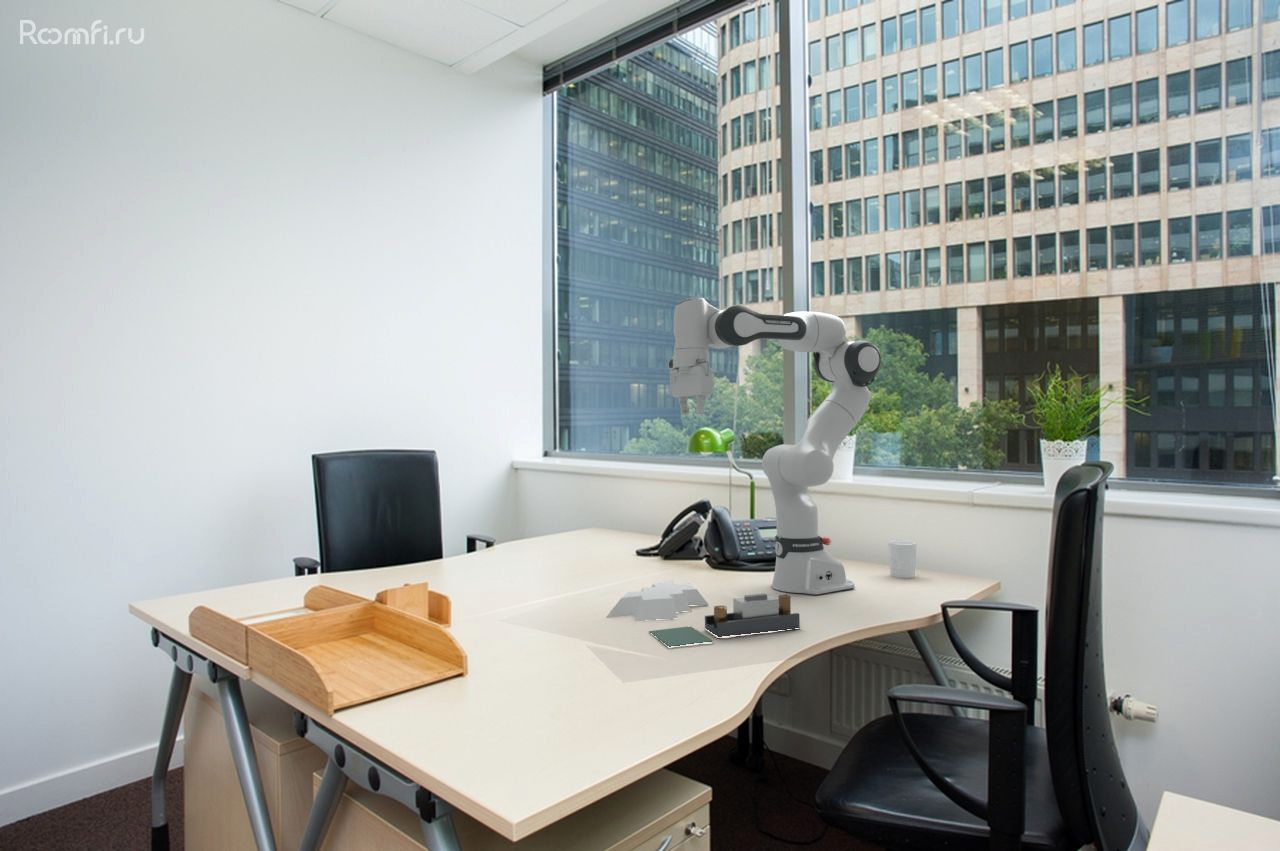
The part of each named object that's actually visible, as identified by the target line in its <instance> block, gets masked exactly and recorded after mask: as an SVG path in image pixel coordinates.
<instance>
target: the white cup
mask: <svg viewBox="0 0 1280 851" xmlns="http://www.w3.org/2000/svg"><path fill="white" fill-rule="evenodd" d="M887 547H888V548H887V550H888V551H887V552H888V564H889V565H888V566H889V575H890V576H891V577H893V578H898V579H912V578H915V577H916V562H917V561H916V560H917V542H915V541H913V540H903V539H902V540H901V539H900V540H897V539H896V540H889V541H888V542H887Z"/></svg>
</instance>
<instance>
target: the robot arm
mask: <svg viewBox="0 0 1280 851" xmlns="http://www.w3.org/2000/svg"><path fill="white" fill-rule="evenodd" d="M673 314H674V315H673V336H674V341H675V342H674V346H673V355H672V357H671V358H670V359H669V360H668V363H667V368H668V370H670V371H669V390H670V394H671V396H672V397H673V398H677V400H678V404H679V407H680V414H681V415H689V414H690V408H689V406H688V398H689V397H691V398H692V397H696V407H694V409H695V410H694V411H695V414H696V415H703V414H704V413H705V405H706V402H707V396H712V395H713V394H714V391H715V384H714V372H713V368H712V366H710V362H709V348H713V349H715V350H716V349H718V350H719V349H720V350H721V349H722V350H723V349H726V348H727V349H728V348H731V347H732V348H733V347H739V346H745V345H748V344H750V343H752V342H754V341H755V340H773V341H774V340H775V341H776V340H777V341H778V342H779V345H780V346H781V347H782V348H783V349H784V350H787V351H790V352H791V351H792V352H800V353H812V356H813V368H814V372H815V373H816V375H817V377H819V379H821V380H823V381H824V382H829V383H833V387H832V389H831V391H830V393H829V394H828V395H827V396H826V397H825V398H824V400H822V402H821V403H820V404H819V405H818V406H817V408H816V409H815V410H814V411H813V413H812V414H810V415H809V418H808V419H807V420H806V422H805V431H804V434H803V435H802V437H801V439H800V440H799V441H798V442H797V443H795V444H778V445H775V446H772V447H770V448H768V449H767V450H766V451H765V452H764V455H763V456H762V460H761V468H762V471H763V473H764V475H765V476H766V477H767V479H768V481H769V482H768V483H769V485H770V489H771V491H772V496H773V499H774V506H775V516H776V520H775V521H776V535H775V536H774V548H775V549H774V550H775V553H774V554H775V556H776V557H775V558H776V559H775V568H774V575H773V578H772V579H773V580H772V583H771V588H772V589H774V590H776V591H781V592H784V593H785V592H787V593H794V594H795V593H797V594H807V595H821V594H826V593H827V594H828V593H832V592H838V591H843V590H849V589H853V588H855V583H854V582H853V581H852V580H850V579H848V578H847V575H846V569H845V567H844V565H843V563H842V562H841V560H838V559H837V558H836V557H835V556H833V555H832V554H830V553H829V552H828V551H827V550H826V549H825V548H824V547H825V546H830V545H831V544H832V540H831V538H830V537H826V536H824V537H821V536H820V535H819V528H818V527H819V526H818V524H819V523H818V514H819V513H818V507H817V505H816V503H815V502H814V500H813V498H812V495H811V493H810V490H809V488H812V487H816V486H817V487H818V486H822V485H824V484H826V483H827V482H829V481H830V479H831V478H832V475H833V473H834V468H835V467H834V461H833V459H834V458H835V455H836V454H837V453H836V452H837V451H838V449H839V447H840V445H841V444H842V443H843V442H844V440H845V439H846V438H847V436H848V435H849V434H850V433H851V431H852V430H853V429H854V427H855V426H857V424H858V423H859V421H860V419H861V418H862V417H863V415H864V414H865V412H866V410H867V409H868V407H869V404H870V403H871V399H872V397H871V392H870V390H869V388H868V386H870V385H871V384H873V383H874V381H875V378H876V375H877V374H878V372H879V370H880V368H881V363H882V355H881V354H882V353H881V351H880V349H879V348H878V346H877V345H875V343H872V342H870V341H867V340H856V341H852V340H851V341H849V340H848V339H847V336H846V333H847V330H846V324H845V323H844V321H843V320H842V318H841V317H839V316H836V315H834V314H830V313H826V312H825V313H824V312H817V311H794V312H788V313H784V314H782V315H779V314H766V313H764V314H763V313H760V312H756V311H755V310H752V309H751V308H749V307H746V306H744V305H739V304H738V305H732V306H729V307H728V308H725V309H723V310H721V309H719V308H717V307H715V306H713V305H711V304H710V303H708V302H707V300H706V299H705V298H704V297H701V296H699V297H698V296H697V297H690V298H688V299H683V300H681V301H678V303H677V304H676V306H675V307H674V313H673ZM824 545H825V546H824Z"/></svg>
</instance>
